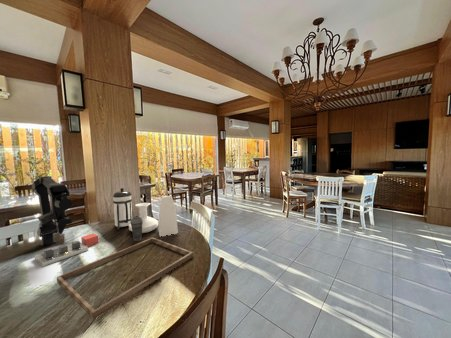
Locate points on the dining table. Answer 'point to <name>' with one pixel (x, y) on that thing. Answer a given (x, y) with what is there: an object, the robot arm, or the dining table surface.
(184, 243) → the dining table surface
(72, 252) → the panel
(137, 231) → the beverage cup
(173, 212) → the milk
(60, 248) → the grey cube
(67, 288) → the serving tray rim
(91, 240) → the cap
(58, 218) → the robot arm
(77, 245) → the block
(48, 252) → the block
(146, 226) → the candle holder
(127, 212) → the coffee press
